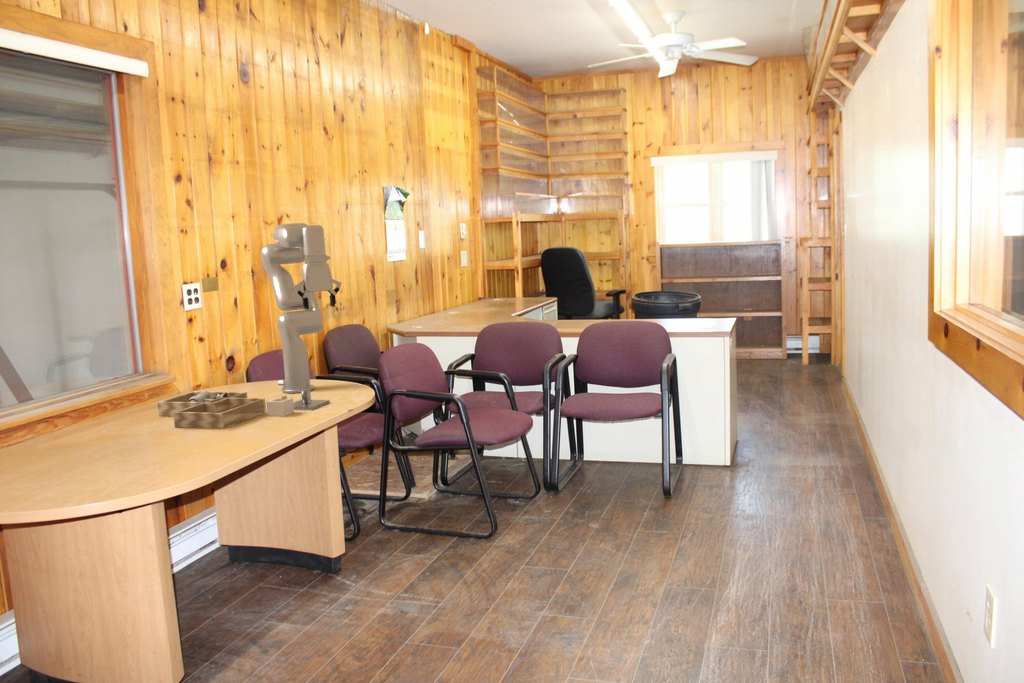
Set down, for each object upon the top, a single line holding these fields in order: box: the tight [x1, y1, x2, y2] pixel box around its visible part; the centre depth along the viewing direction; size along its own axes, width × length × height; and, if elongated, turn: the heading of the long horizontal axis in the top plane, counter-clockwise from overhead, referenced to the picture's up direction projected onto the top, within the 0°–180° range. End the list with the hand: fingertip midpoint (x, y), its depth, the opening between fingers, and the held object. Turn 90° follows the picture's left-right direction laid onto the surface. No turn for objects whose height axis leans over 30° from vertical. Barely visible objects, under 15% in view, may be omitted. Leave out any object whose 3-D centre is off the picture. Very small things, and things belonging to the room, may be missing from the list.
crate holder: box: [157, 391, 248, 417], centre depth 302 cm, size 24×19×5 cm
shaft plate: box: [293, 390, 331, 411], centre depth 301 cm, size 12×12×6 cm
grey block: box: [266, 395, 295, 417], centre depth 289 cm, size 6×7×6 cm
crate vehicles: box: [173, 397, 267, 430], centre depth 286 cm, size 19×24×5 cm
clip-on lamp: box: [188, 390, 228, 403], centre depth 302 cm, size 12×6×18 cm
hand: (319, 307), depth 300 cm, fingers open, 9 cm apart
